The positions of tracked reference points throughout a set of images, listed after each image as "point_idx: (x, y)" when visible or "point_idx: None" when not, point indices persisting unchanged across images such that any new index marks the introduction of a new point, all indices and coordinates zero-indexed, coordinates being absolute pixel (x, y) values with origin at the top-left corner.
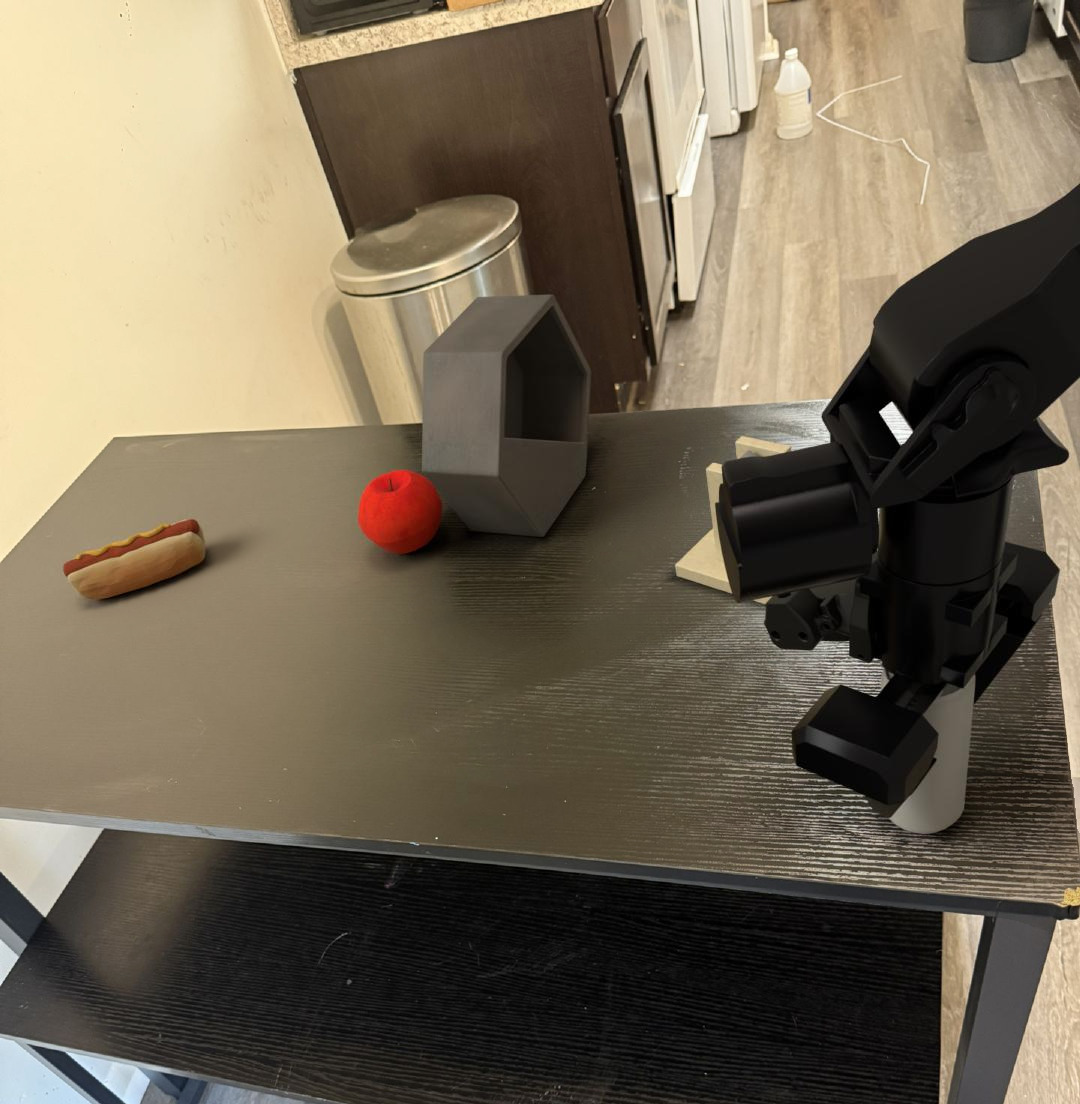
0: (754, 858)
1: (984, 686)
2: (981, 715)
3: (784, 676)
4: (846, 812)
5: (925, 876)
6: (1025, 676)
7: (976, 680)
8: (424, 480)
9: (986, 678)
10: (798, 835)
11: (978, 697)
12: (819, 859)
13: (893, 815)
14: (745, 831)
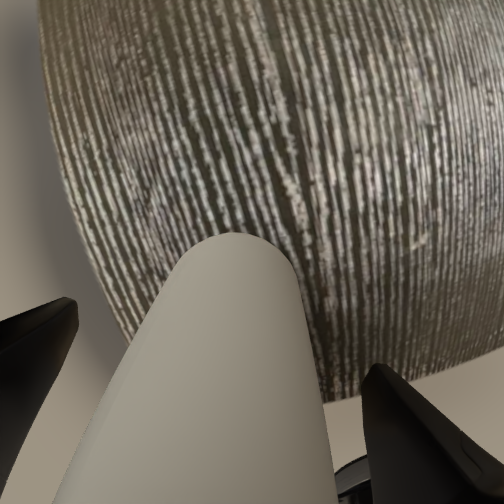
0: (59, 83)
1: (374, 478)
2: (429, 316)
3: (463, 16)
4: (186, 178)
5: (123, 310)
6: (481, 340)
7: (384, 477)
8: None
9: (379, 496)
10: (115, 122)
11: (367, 450)
12: (86, 171)
13: (172, 270)
14: (99, 44)
